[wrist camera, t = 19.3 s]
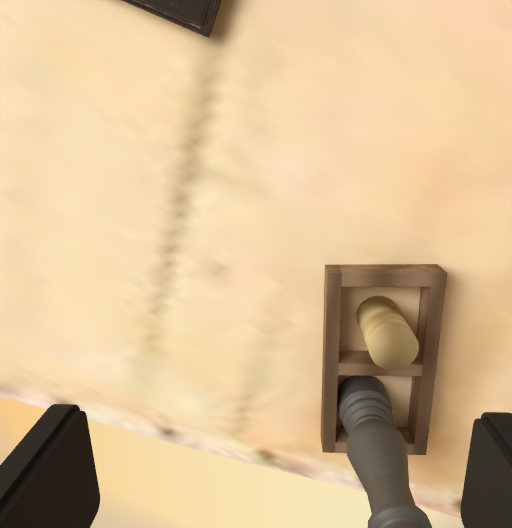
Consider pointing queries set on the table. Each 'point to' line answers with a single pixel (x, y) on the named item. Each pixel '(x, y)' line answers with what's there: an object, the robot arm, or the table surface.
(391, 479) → the candle holder
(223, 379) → the table surface
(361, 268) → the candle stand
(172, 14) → the hardcover book
